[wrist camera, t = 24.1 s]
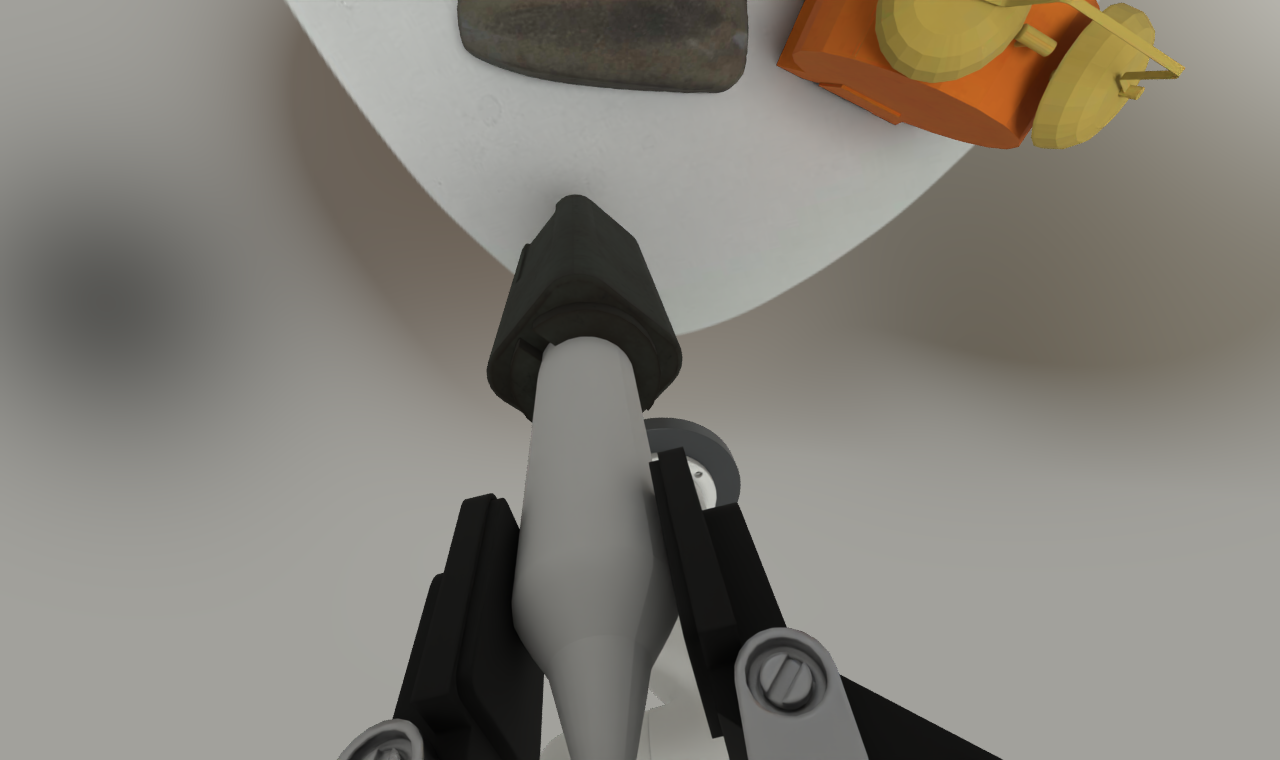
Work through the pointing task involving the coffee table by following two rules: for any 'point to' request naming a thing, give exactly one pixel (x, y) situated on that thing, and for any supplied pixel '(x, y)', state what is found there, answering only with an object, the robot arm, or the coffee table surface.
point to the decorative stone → (612, 41)
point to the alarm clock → (980, 64)
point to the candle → (589, 471)
